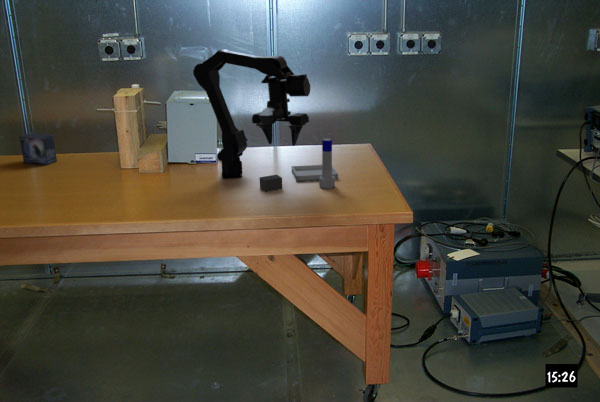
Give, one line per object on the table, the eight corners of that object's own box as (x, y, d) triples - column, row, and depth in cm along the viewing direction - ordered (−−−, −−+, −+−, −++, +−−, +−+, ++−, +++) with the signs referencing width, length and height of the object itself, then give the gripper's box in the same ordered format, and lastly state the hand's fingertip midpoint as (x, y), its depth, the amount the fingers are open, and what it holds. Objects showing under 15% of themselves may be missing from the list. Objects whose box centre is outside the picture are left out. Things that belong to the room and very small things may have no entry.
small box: (22, 164, 232) (18, 136, 228) (34, 159, 238) (30, 132, 234) (46, 166, 229) (42, 138, 226) (57, 161, 235) (54, 134, 231)
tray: (296, 181, 207) (296, 176, 206) (291, 171, 218) (291, 166, 217) (337, 179, 209) (337, 173, 208) (331, 169, 220) (331, 164, 219)
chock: (265, 192, 197) (264, 180, 196) (260, 189, 201) (259, 177, 199) (282, 189, 200) (282, 177, 199) (276, 186, 203) (276, 174, 202)
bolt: (333, 189, 199) (317, 188, 200) (336, 184, 203) (321, 184, 204) (333, 141, 194) (317, 141, 195) (336, 138, 198) (320, 137, 199)
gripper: (239, 100, 197) (244, 148, 202) (289, 101, 188) (293, 152, 192) (259, 94, 206) (264, 141, 211) (308, 95, 197) (311, 144, 201)
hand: (282, 144), depth 204 cm, fingers open, 9 cm apart
